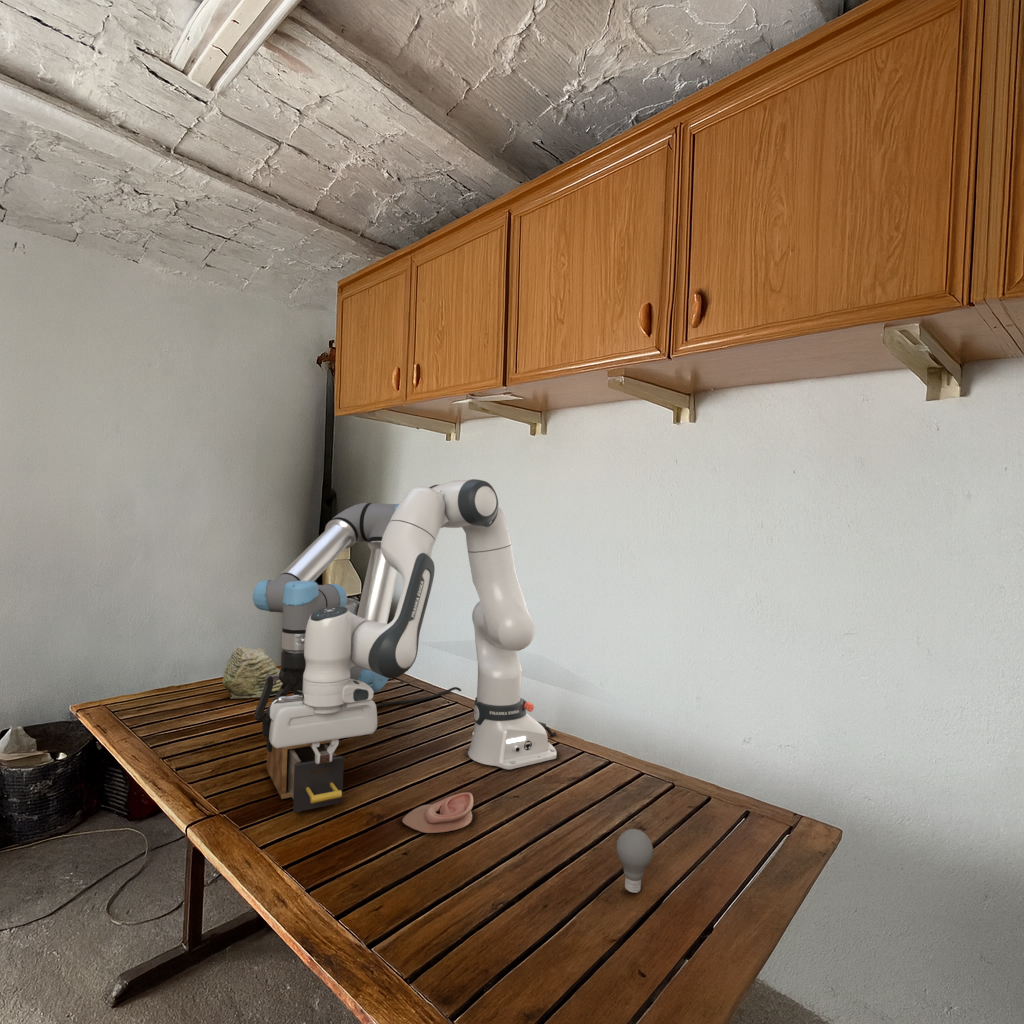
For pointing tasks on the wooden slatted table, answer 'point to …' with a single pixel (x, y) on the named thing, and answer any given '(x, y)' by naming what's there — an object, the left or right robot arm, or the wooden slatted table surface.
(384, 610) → the left robot arm
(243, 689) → the fossil
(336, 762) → the drawer
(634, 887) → the light bulb
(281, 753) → the cabinet
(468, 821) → the anatomical model
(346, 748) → the wooden slatted table surface
